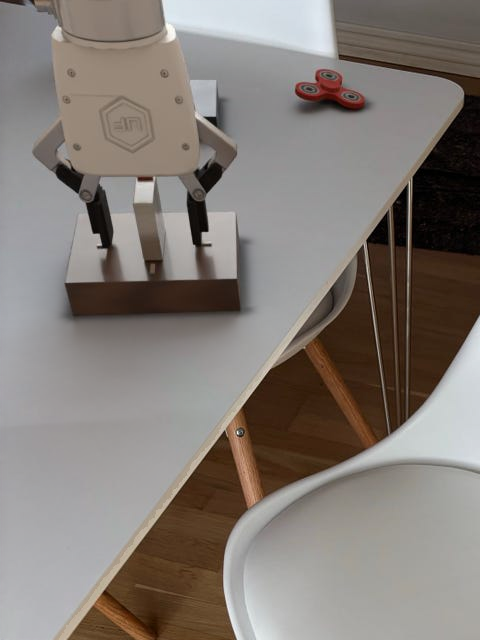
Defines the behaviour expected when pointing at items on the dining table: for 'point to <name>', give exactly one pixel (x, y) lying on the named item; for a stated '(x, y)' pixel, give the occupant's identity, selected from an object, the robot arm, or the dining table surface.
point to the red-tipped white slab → (149, 218)
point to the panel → (155, 268)
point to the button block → (206, 99)
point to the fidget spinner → (329, 90)
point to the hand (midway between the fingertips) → (153, 238)
